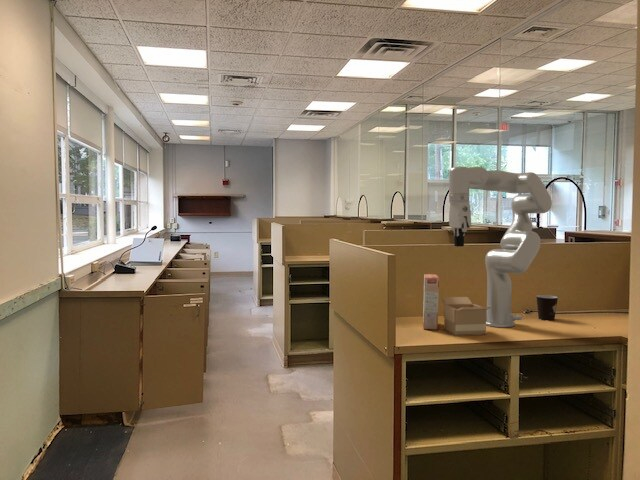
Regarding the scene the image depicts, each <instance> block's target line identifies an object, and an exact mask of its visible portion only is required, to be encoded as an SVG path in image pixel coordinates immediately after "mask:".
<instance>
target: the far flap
mask: <svg viewBox="0 0 640 480" xmlns="http://www.w3.org/2000/svg"><path fill="white" fill-rule="evenodd" d="M441 300H442V302H443V303H444V305H445V304H473V303H472V301H471V299H470V298H469V296H449V297H448V296H445V297H443V296H441Z"/></svg>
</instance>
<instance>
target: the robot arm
mask: <svg viewBox="0 0 640 480" xmlns="http://www.w3.org/2000/svg"><path fill="white" fill-rule="evenodd" d="M448 171H449V173H448V174H449V175H448V179H449V180H448V183H449V185H448V190H449V193H448V194H449V195H448V196H449V198H448V199H449V200H448V203H449V211H448V212H449V214H448V226H449V227H450V228H451V231H452V232H453V236H454V243H453V246H454V247H464V246H465V238H464V237H465V235H466V234H465V232H467V231H468V229H470V228H471V227H472V212H471V204H470V189H471V190H480V191H489V192H500V193H507V194H513V195H514V194H516V195H515V196H514V197H513V198H512V201H511V210H512V222H511V224H510V226H509V227H508V229H507V230H506V231H505V233H504V234H503V236H502V238H501V239H500V244H499V245H500V248H494V249H491V250H489V251H487V253H486V255H485V258H484V264H485V268H486V277H487V278H486V279H487V280H486V281H487V283H486V285H487V287H486V307H491V309H488V310H487V322H486V326H489V327H495V328H512V327H514V326H515V324H516V323H515V321H522V320H523V316H522V315H519V314H518V315H516V314H514V313H512V286H513V285H512V280H511V277H510V274H514V275H515V274H517V275H520V274H524V273H525V272H526V271H527V270H528V268H529V267H530V265H531V264H532V262H533V261H534V259H535V258H536V257H537V254H538V253H539V251H540V248H541V237H540V236H539V234H538V233H537V232H535V231H533V227H534V226H533V223H532V220H531V219H530V216H529V214H545V213H548V212H550V210H551V209H552V206H553V200H552V197H551V195H550V193H549V191H548V190H547V188H546V186H545V185H544V183H543V181H542V179H541V178H540V177H539V176H538V175H537V174H536V173H535V172H530V171H529V172H522V173H521V172H520V173H519V172H517V173H516V172H511V171H504V170H499V169H497V170H495V169H492V170H491V169H490V170H487V169H486V168H485V167H482V166H472V167H468V166H453V167H450V169H449V170H448Z"/></svg>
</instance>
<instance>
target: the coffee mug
mask: <svg viewBox="0 0 640 480" xmlns="http://www.w3.org/2000/svg"><path fill="white" fill-rule="evenodd" d="M558 299H559V296H555V295H549V294H547V295H546V294H545V295H544V294H538V295H536V307H537V315H538V317H537V318H538V320H540V319H541V320H540V321H546V320H548V322H549V321H550V322H552V321H555V319H556V314H557V313H556V312H557V306H558Z"/></svg>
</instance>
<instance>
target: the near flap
mask: <svg viewBox="0 0 640 480" xmlns="http://www.w3.org/2000/svg"><path fill="white" fill-rule="evenodd" d="M488 309H491V307H487V306H481V307H462V308H460V309H458V311H475V310H488Z"/></svg>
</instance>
